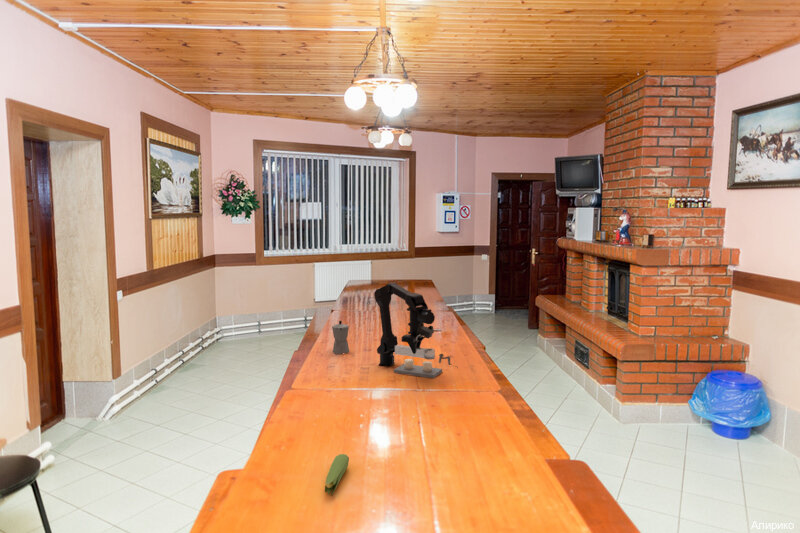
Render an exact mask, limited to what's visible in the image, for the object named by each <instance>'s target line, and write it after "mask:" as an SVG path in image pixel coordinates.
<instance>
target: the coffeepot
mask: <svg viewBox="0 0 800 533" xmlns="http://www.w3.org/2000/svg"><path fill="white" fill-rule="evenodd" d="M342 322H343V321H342V320H339V321H338V324H337V323H336V324H333V325H332V326H331V330H332V333H333V334H332V335H333V338H334V341H333V347H332V348H333V349H332V353H333V352H334V353H335V354H334V353H333V354H334V355H344V354H343V353H346V354H349V353H350V348H349V342H348V340H347V338H348V336H349V328H350V325H348V324H345V323H342Z"/></svg>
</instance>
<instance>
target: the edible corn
mask: <svg viewBox="0 0 800 533" xmlns="http://www.w3.org/2000/svg"><path fill="white" fill-rule="evenodd" d="M349 461H350V457H349V456H348V455H347V454H344V453H340V454H338V455H336V456H335V457H334V458H333V460H332V463H331V465H330V468H329V470H328V472H327V475H326V476H325V482H324V483H325V486H324V492H325V494H326V493H327V495H329V494H330V495H332V496H333V495H334V492H335V490H336V489H337V488H338V487H337V486H338V485H339V483H340V481H341V479H342V477H343V475H344V474H345V472H346V470H347V469H348V467H349Z"/></svg>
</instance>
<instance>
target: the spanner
mask: <svg viewBox="0 0 800 533" xmlns="http://www.w3.org/2000/svg"><path fill="white" fill-rule="evenodd" d="M435 352H436V349H434V348H425V347H420V348H419V347H416V353H415V354H413V352H412V350H411V348H410V346H409V345H403V344H397V345H396V346H395V352H394V355H398V356H406V357H413V358H420V359H426V360H428V361H430V360H435V359H436V355H435V354H436V353H435Z"/></svg>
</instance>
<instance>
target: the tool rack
mask: <svg viewBox="0 0 800 533" xmlns="http://www.w3.org/2000/svg"><path fill="white" fill-rule="evenodd" d="M403 360H404V363H403V364H401V365H400V366H398V367H396V368H394V369H393V373H394V374H400V375H408V376H414V377H421V378H429V379H435V378H437V377H438V375H441V374H442V373H443V368H439V367H438V368H437V367H433V362H432V361H430V360H427V361H423V362H422V365H418V364H416V365H415V364H414V360H413V359H412V358H405V359H403Z"/></svg>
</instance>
